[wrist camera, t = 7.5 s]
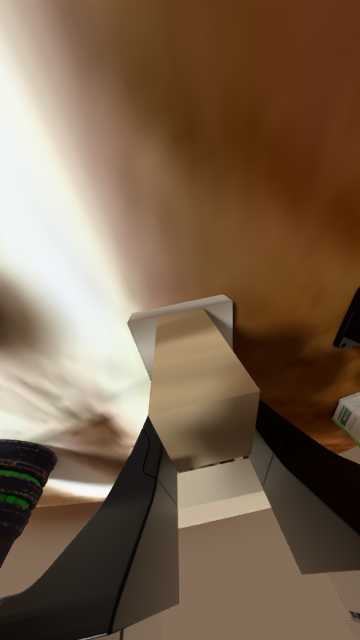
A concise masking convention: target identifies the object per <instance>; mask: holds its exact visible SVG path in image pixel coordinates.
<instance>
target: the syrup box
mask: <svg viewBox="0 0 360 640" xmlns="http://www.w3.org/2000/svg"><path fill="white" fill-rule="evenodd" d="M338 402H339V404H338V406H337V409H336V411H335V414H334V416H333V417H332V420H333V422H334V423H336V424H337V425H338V426H339V427H340V428H341V429H342V430H343V431H344V432H345V433H346V434H347V435H348V436H349V437H350V438H351V439H352V440H353V441H354V442H355V443H356V444H357V445H358V446H359V447H360V392H359V393H356V394H353V395H350V396H347V397H344V398H341V399H339V400H338Z"/></svg>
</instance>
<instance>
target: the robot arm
mask: <svg viewBox="0 0 360 640" xmlns="http://www.w3.org/2000/svg"><path fill="white" fill-rule="evenodd" d="M334 346H335V347H337V348H338V349H346V348H350V347H355V346H360V289H359V291H358V293H357V295H356V297H355V300H354V302H353V304H352V306H351V308H350V311H349V313H348V315H347V317H346V319H345V322H344V324H343V326H342V328H341V330H340V333H339V335H338V337H337V339H336V341H335V344H334ZM248 457H249V459H250V462H251V464H252V466H253V468H254V470H255V473H256V475H257V477H258V479H259V481H260V484H261V486H262V487H263V490H264V492H265V495H266V497H267V499H268V501H269V503H270V506H271V508H272V510H273V512H274V514H275V516H276V519H277V521H278V523H279V525H280V528H281V530H282V532H283V534H284V536H285V539H286V541H287V543H288V545H289V547H290V550H291V552H292V554H293V556H294V558H295V561H296V563H297V565H298V567H299V569H300V571H301V574H303V575H304V574H316V573H327V574H328V576H329V578H330V580H331V581H332V584H333V586H334V587H335V590H336V591H337V593H338V595H339V597H340V599H341V601H342V603H343V605H344V607H345V609H346V611H347V613H348V615H349V618H346V622H347V624H348V626H349V628H350V630H351V632H352V634H353V636H354V638H355V640H360V464H358V463H355V462H353V461H351V460H348V459H346V458H343V457H341V456H339V455H337V454H335V453H334V452H332V451H330V450H328V449H327V448H325V447H323V446H322V445H321V444H319V443H318V442H316V441H315V440H313V439H312V438H311V437H309V436H308V435H306V434H305V433H304V432H302V431H301V430H300V429H298V428H297V427H295V426H294V425H293V424H291V423H290V422H288V421H287V420H286V419H284V418H283V417H282V416H280V415H279V414H278V413H276V412H275V411H274V410H273V409H272V408H270V407H269V406H268V405H267V404H266V403H264V402H263V401H262V400H261V399H260V398H259V404H258V411H257V418H256V425H255V431H254V438H253V445H252V452H251V455H248ZM177 506H178V484H177V471H176V469H175V467H174V465H173V463H172V461H171V459H170V457H169V455H168V453H167V451H166V449H165V447H164V445H163V443H162V441H161V440H160V438H159V436H158V434H157V432H156V430H155V428H154V426H153V424H152V422H151V420H150V418H149V416H147V419H146V421H145V423H144V426H143V428H142V430H141V432H140V435H139V437H138V439H137V441H136V443H135V446H134V448H133V449H132V451H131V453H130V455H129V457H128V459H127V461H126V463H125V465H124V467H123V468H122V470H121V472H120V474H119V476H118V478H117V480H116V481H115V483H114V485H113V487H112V489H111V491H110V492H109V494H108V496H107V498H106V499H105V501H104V502H103V504H102V505H101V507H100V508H99V509H98V511H97V512H96V513H95V514H94V515H93V517H92V518H91V519H90V520H89V521H88V523H87V524H86V525H85V526H84V527H83V528H82V530H81V531H80V532H79V533H78V534H77V535H76V537H75V538H74V539H73V540H72V541H71V543H70V544H69V545H68V546H67V547H66V549H65V550H64V551H63V552H62V553H61V554H60V555H59V557H58V558H57V559H56V560H55V561H54V562H53V564H52V565H51V566H50V567H49V568H48V569H47V571H46V572H45V573H44V574H43V575H42V576H41V577H40V578H39V579H38V580H37V581H36V582H35V583H34V584H33V585H32V586H30V587H29V588H27V589H26V590H25V591H23V592H21V593H18V594H14V595H9V596H5V597H2V598H0V640H162V611H164V610H166V609H169V608H171V607H173V606H175V605H177V604H179V568H178V567H179V566H178V565H179V563H178V507H177Z"/></svg>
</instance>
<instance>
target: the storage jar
mask: <svg viewBox="0 0 360 640" xmlns="http://www.w3.org/2000/svg"><path fill="white" fill-rule="evenodd" d="M56 463H57V456H56V455H55V454H54V453H53V452H52V451H51V450H49V449H47V448H45V447H43V446H40V445H38V444H34V443H30V442H25V441H18V440H0V568H1V566H2V564H3V562H4V560H5V558H6V556H7V554H8V552H9V550H10V548H11V546H12V544H13V543H14V541H15V540H16V539H17V538H18V537H19V536H20V535H21V534H22V532H23V530H24V528H25V526H26V525H27V524H28V522H29V518H30V516H31V511H32V510H33V509H34V508H35V507H36V505H37V503H38V501H39V499H40V497H41V495H42V493H43V487H44V486H45V485H46V483H47V481H48V476H49V474H50V472H51V471H52V470H53V469H54V467H55V465H56Z"/></svg>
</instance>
